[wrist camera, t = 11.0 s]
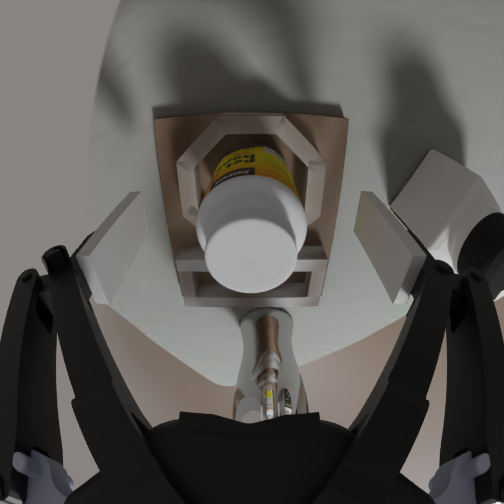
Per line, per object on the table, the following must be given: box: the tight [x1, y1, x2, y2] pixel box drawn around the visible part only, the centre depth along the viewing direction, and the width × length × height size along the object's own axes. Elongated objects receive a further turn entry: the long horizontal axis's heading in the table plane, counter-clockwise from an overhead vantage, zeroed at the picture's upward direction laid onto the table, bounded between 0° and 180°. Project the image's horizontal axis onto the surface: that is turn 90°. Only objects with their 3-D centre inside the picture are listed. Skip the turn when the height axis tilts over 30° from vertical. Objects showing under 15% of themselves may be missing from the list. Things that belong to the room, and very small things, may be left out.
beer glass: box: [232, 308, 309, 423], centre depth 25 cm, size 7×7×15 cm
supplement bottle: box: [196, 144, 307, 293], centre depth 16 cm, size 6×6×10 cm
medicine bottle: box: [390, 149, 504, 301], centre depth 16 cm, size 7×7×12 cm
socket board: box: [154, 112, 349, 307], centre depth 21 cm, size 14×17×3 cm
